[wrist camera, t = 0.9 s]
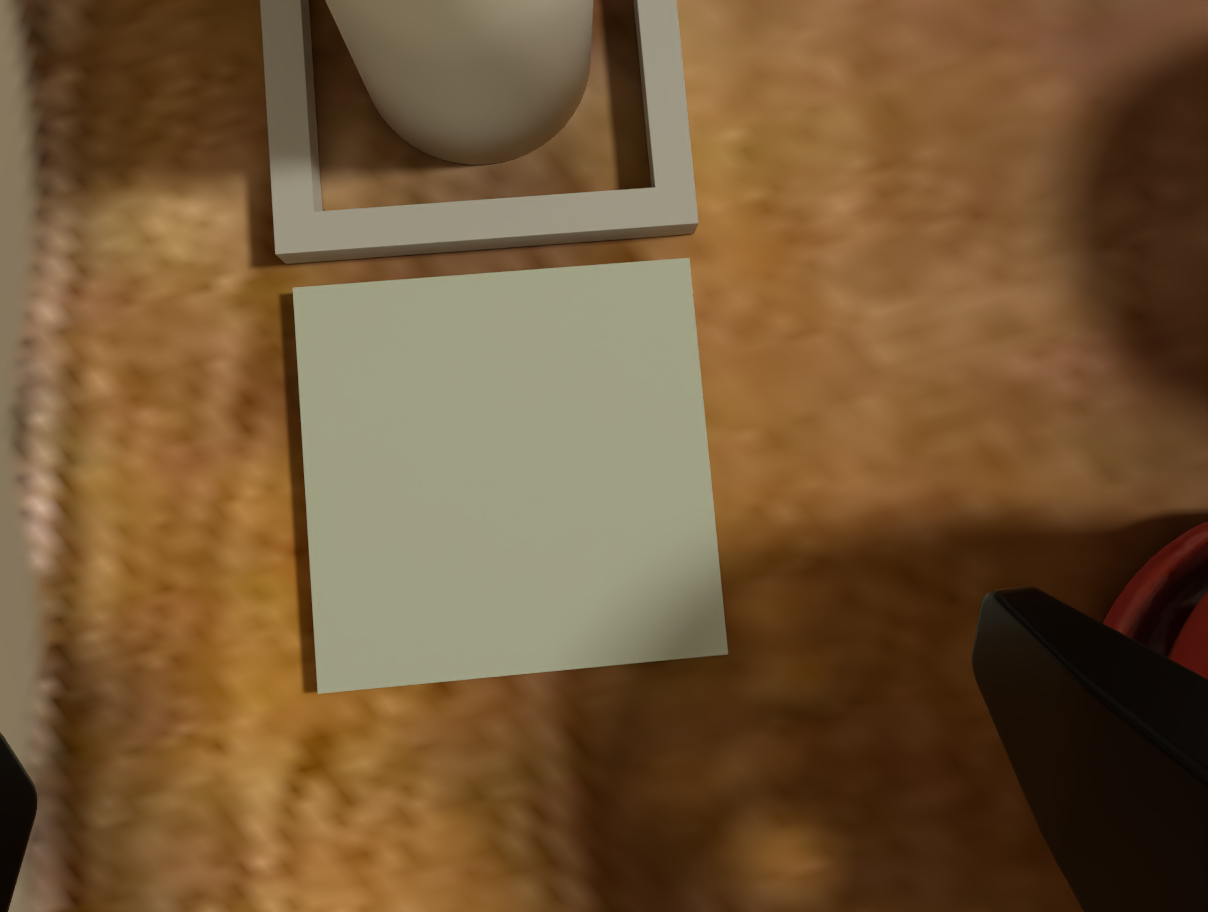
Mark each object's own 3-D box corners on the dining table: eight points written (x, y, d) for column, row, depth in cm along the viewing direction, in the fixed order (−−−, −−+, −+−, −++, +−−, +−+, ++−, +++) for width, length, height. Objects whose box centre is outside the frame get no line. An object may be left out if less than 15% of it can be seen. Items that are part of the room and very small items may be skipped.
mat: (725, 651, 22) (728, 654, 21) (322, 690, 21) (317, 693, 21) (687, 262, 23) (689, 257, 22) (297, 292, 22) (292, 287, 22)
